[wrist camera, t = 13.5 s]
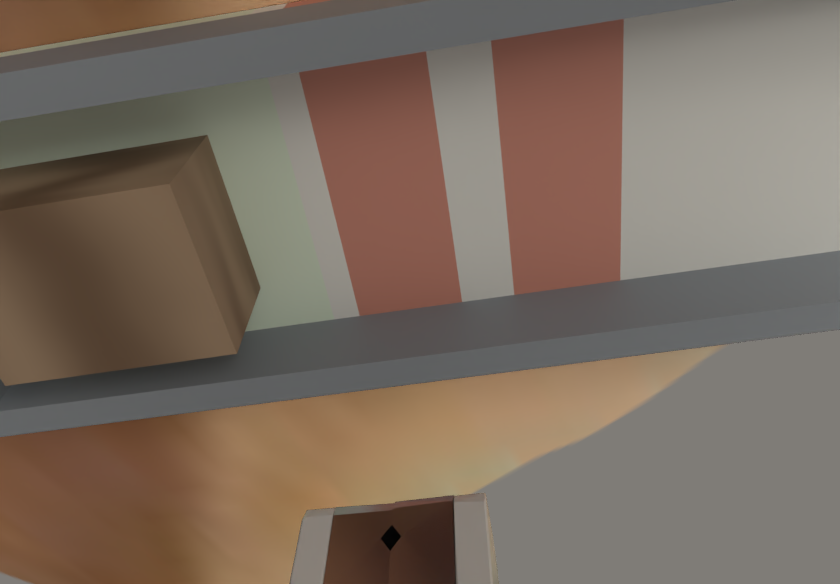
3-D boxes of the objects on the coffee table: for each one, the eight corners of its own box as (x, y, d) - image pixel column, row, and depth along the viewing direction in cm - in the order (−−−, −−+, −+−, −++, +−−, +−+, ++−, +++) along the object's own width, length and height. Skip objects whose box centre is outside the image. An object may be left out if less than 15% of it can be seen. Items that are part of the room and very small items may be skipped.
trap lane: (1077, -134, 18) (1227, -136, 15) (953, 246, 25) (1038, 303, 22) (-153, 79, 21) (-260, 117, 18) (28, 371, 28) (-24, 439, 24)
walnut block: (207, 134, 21) (169, 183, 18) (260, 287, 24) (237, 353, 21) (-22, 172, 22) (-101, 226, 19) (59, 317, 25) (5, 385, 22)
